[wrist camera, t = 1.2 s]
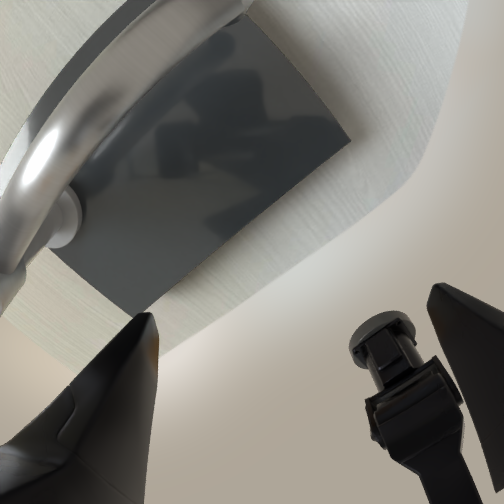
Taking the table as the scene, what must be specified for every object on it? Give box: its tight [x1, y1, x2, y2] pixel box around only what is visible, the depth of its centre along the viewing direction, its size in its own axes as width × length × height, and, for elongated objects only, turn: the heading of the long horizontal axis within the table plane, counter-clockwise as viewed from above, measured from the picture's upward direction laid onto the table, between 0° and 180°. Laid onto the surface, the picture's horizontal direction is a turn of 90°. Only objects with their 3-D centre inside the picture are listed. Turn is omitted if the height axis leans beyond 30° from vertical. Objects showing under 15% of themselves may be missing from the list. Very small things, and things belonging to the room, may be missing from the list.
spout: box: [0, 0, 254, 317], centre depth 9 cm, size 17×3×4 cm, turn 130°
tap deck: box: [0, 0, 351, 318], centre depth 14 cm, size 14×18×9 cm
